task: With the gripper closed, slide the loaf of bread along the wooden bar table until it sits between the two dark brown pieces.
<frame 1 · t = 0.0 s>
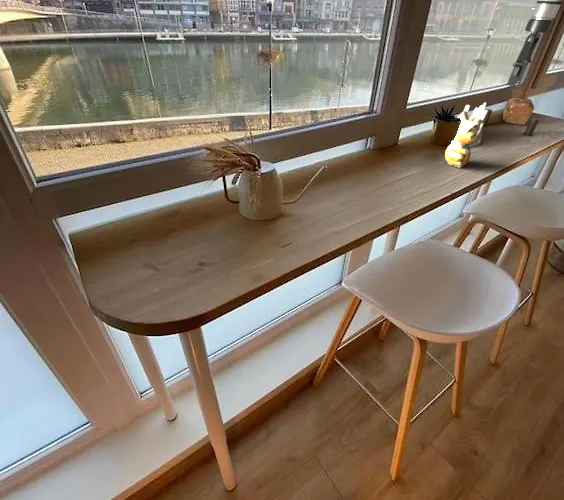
hand: (513, 83, 132), 21 cm above the table, tool pointing down, fingers open, 13 cm apart
dark brown pieces: (504, 129, 151), on the table
bread: (512, 120, 164), on the table
white pronged sculpture: (459, 139, 138), on the table
decorative figurine: (453, 164, 118), on the table
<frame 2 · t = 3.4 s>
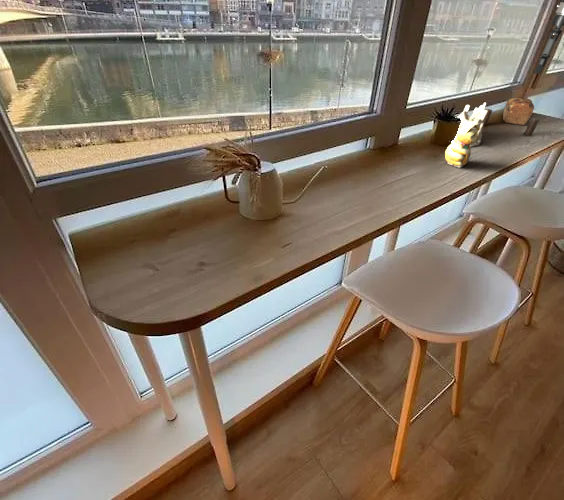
hand: (537, 72, 161), 20 cm above the table, tool pointing down, fingers open, 3 cm apart
nothing on the table moved.
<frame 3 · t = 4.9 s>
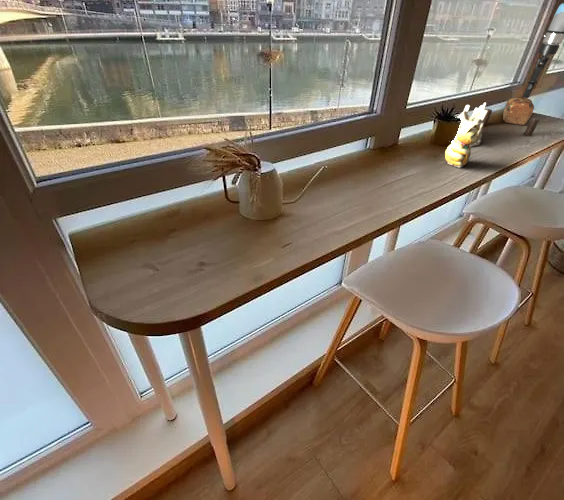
hand: (525, 97, 168), 8 cm above the table, tool pointing down, fingers closed
nothing on the table moved.
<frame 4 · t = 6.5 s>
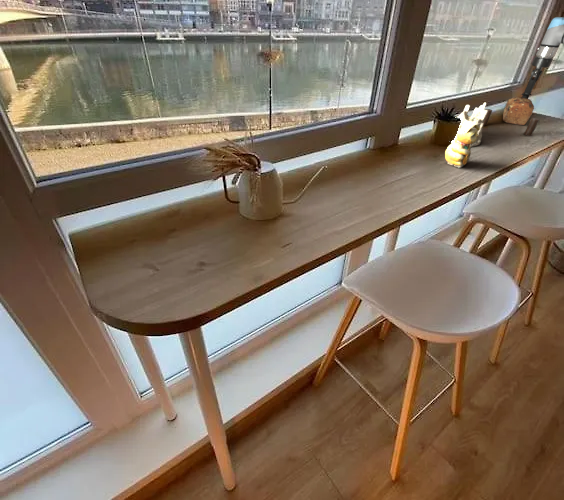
hand: (519, 108, 170), 3 cm above the table, tool pointing down, fingers closed
bread: (512, 120, 164), on the table, touching gripper
everything else where it was.
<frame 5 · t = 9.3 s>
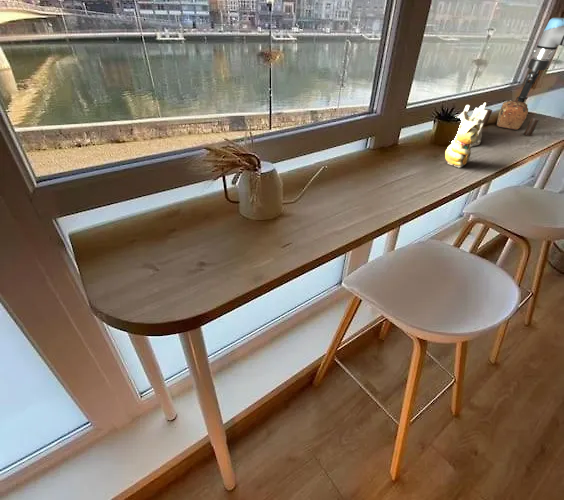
hand: (515, 112, 164), 3 cm above the table, tool pointing down, fingers closed
bread: (507, 124, 158), on the table, touching gripper
everything else where it was.
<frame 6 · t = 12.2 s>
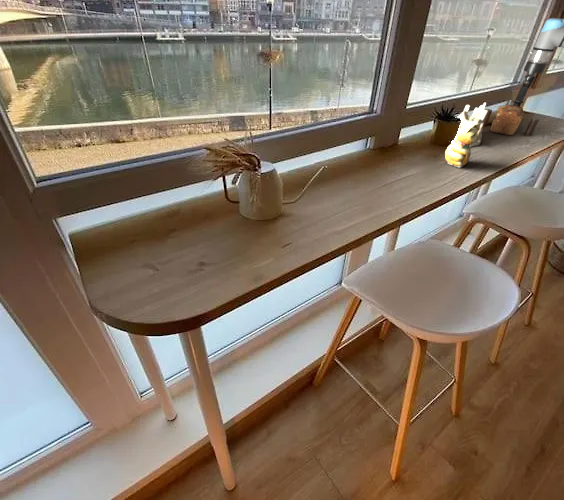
hand: (511, 117, 157), 3 cm above the table, tool pointing down, fingers closed
bread: (502, 129, 152), on the table, touching gripper
everything else where it was.
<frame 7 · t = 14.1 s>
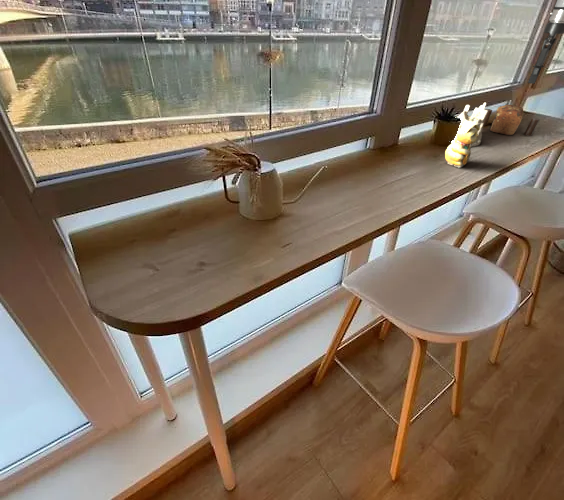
hand: (531, 83, 153), 17 cm above the table, tool pointing down, fingers closed
bread: (502, 129, 152), on the table
everything else where it was.
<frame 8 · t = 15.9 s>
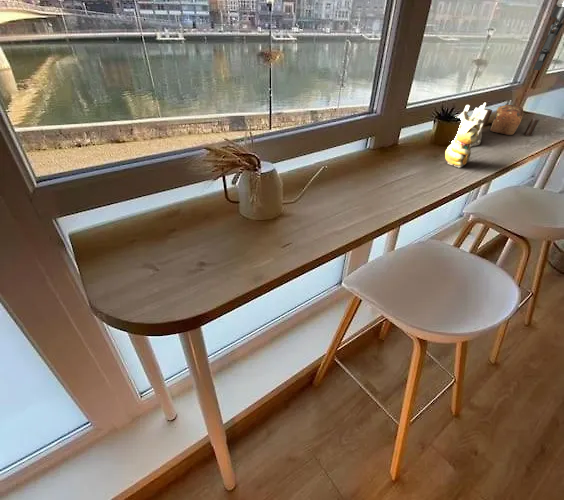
hand: (536, 69, 151), 22 cm above the table, tool pointing down, fingers closed
nothing on the table moved.
at the end: bread inside the target area (1.3 cm from its centre), on the table; bread tilted 0°; bread moved 21.2 cm from its start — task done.
